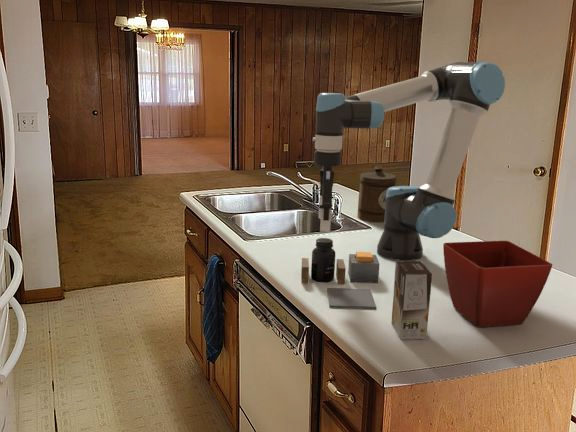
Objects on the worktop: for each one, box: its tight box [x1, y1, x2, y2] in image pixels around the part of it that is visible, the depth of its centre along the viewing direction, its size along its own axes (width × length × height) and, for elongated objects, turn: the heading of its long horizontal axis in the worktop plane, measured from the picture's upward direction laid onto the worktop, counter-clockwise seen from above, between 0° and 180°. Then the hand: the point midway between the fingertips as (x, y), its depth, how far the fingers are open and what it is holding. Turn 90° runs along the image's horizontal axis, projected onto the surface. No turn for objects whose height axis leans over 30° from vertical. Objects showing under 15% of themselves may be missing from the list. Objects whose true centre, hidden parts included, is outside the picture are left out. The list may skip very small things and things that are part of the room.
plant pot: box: [442, 240, 553, 328], centre depth 139 cm, size 19×19×17 cm
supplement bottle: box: [310, 237, 336, 284], centre depth 162 cm, size 7×7×12 cm
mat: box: [326, 287, 377, 310], centre depth 150 cm, size 12×12×1 cm
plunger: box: [355, 251, 373, 262], centre depth 164 cm, size 4×4×6 cm
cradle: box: [300, 257, 347, 286], centre depth 163 cm, size 12×8×5 cm, turn 89°
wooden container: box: [357, 165, 397, 223], centre depth 231 cm, size 15×15×22 cm
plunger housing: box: [347, 253, 380, 284], centre depth 164 cm, size 8×8×6 cm
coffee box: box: [391, 260, 433, 340], centre depth 130 cm, size 9×6×16 cm
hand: (323, 224), depth 159 cm, fingers open, 13 cm apart
